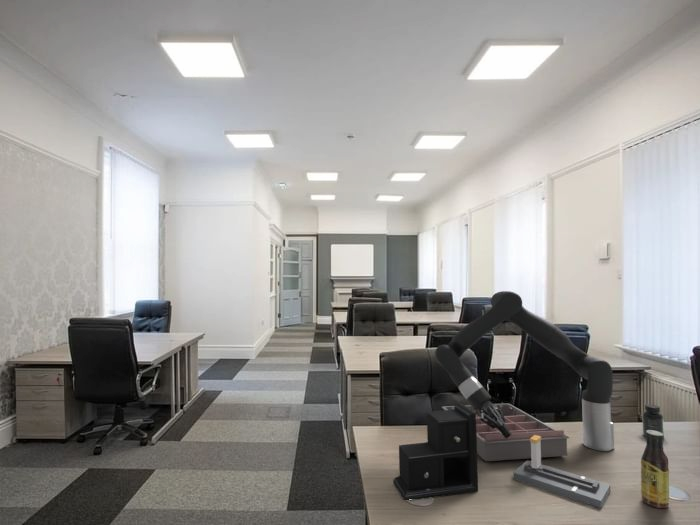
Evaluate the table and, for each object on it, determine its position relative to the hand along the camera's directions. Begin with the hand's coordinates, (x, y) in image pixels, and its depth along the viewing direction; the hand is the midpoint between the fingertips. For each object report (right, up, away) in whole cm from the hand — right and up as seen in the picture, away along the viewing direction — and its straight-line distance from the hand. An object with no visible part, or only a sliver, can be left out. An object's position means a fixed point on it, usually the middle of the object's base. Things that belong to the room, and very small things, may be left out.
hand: (509, 436), depth 133 cm
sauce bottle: (+33, -10, -22) cm, 40 cm away
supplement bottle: (+69, -12, +27) cm, 75 cm away
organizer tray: (+5, -12, +23) cm, 27 cm away
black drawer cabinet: (-28, -10, -13) cm, 32 cm away
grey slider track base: (+11, -10, -11) cm, 19 cm away
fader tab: (+6, -8, -6) cm, 12 cm away
